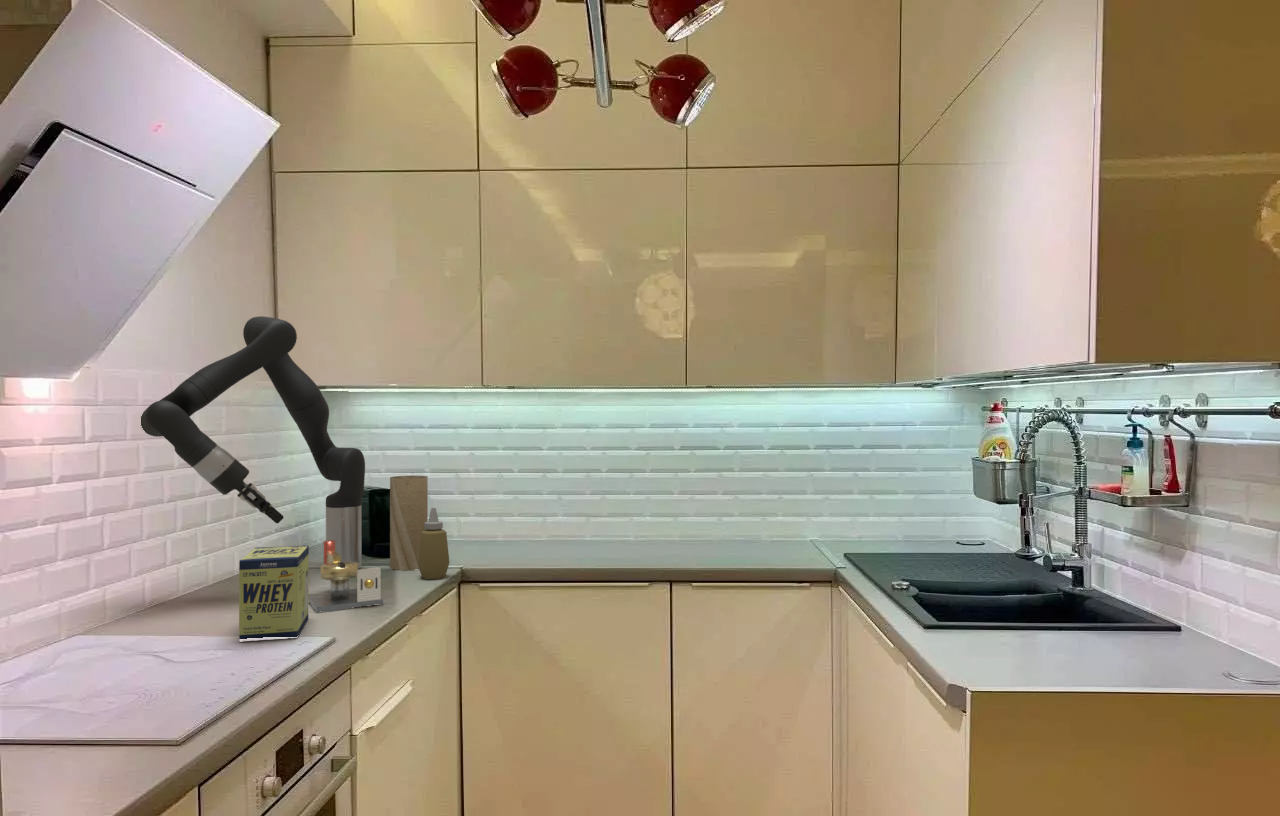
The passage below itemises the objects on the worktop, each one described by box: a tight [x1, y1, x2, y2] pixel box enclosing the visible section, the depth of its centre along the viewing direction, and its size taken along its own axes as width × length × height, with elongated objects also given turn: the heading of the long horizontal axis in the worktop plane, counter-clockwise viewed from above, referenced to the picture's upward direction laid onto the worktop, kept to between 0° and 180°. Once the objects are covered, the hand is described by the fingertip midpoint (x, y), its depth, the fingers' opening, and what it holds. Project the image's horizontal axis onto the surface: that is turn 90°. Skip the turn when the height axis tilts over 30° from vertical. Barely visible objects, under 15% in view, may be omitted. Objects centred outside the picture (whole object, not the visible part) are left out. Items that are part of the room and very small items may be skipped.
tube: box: [389, 475, 429, 571], centre depth 220 cm, size 10×10×25 cm
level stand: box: [308, 566, 384, 613], centre depth 180 cm, size 15×14×8 cm
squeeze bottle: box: [418, 507, 450, 580], centre depth 207 cm, size 8×8×18 cm
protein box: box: [238, 545, 310, 639], centre depth 158 cm, size 10×16×16 cm
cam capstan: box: [320, 540, 358, 581], centre depth 184 cm, size 19×8×6 cm, turn 31°
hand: (279, 519), depth 186 cm, fingers open, 3 cm apart
